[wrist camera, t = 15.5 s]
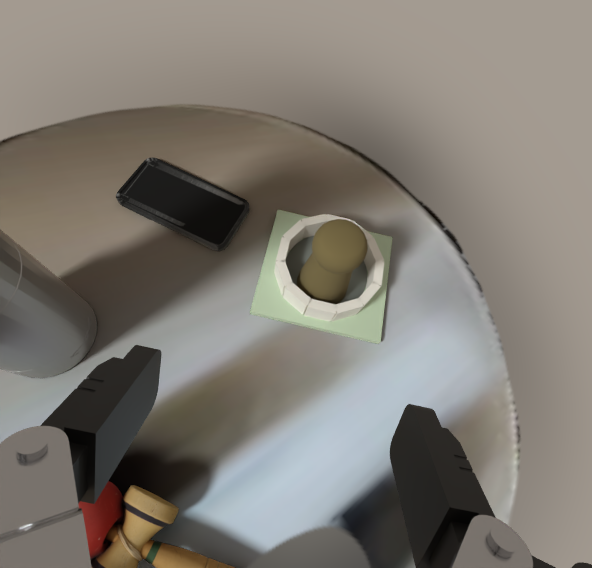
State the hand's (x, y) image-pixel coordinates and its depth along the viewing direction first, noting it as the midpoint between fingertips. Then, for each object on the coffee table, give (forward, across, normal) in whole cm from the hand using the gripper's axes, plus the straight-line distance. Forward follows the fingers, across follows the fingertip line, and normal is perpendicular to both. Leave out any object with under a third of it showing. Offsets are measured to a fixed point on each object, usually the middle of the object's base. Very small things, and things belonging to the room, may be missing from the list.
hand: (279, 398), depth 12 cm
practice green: (+32, -4, +7) cm, 33 cm away
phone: (+37, +15, +4) cm, 40 cm away
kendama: (+12, +6, +28) cm, 31 cm away
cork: (+31, -4, +8) cm, 32 cm away
